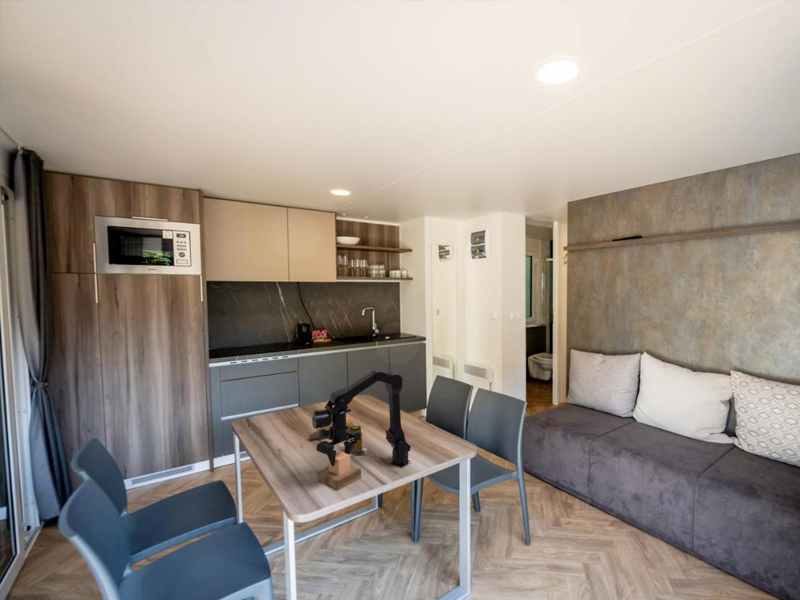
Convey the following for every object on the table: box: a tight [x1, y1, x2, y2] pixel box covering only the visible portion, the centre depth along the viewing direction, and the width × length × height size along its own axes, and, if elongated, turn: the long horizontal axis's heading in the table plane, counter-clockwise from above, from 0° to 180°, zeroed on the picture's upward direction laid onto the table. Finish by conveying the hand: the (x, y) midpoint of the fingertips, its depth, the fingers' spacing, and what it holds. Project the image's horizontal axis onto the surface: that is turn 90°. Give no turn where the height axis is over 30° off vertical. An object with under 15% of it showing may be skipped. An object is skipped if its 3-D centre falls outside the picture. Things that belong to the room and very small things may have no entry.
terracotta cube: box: [328, 450, 351, 475], centre depth 147 cm, size 6×6×6 cm
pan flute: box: [309, 415, 355, 442], centre depth 202 cm, size 25×3×25 cm
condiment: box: [350, 424, 368, 457], centre depth 172 cm, size 7×8×12 cm
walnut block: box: [317, 464, 362, 491], centre depth 147 cm, size 12×12×4 cm
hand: (339, 462), depth 147 cm, fingers open, 7 cm apart
